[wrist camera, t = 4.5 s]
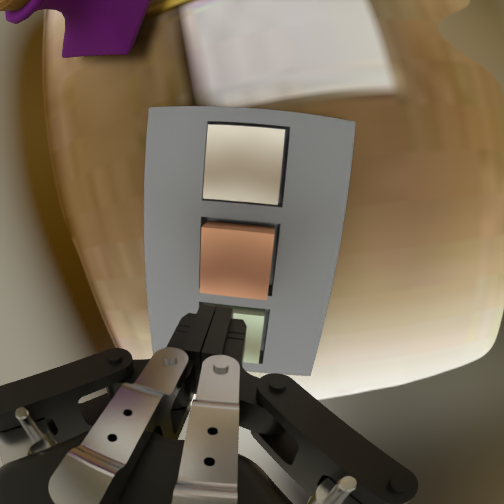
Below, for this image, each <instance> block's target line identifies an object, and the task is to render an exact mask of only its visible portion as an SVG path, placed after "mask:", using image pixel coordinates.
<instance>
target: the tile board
mask: <svg viewBox="0 0 504 504" xmlns="http://www.w3.org/2000/svg"><path fill="white" fill-rule="evenodd" d="M355 123H356V122H354V121H348V120H343V119H337V118H331V117H325V116H319V115H312V114H304V113H297V112H288V111H279V110H268V109H256V108H240V107H215V106H174V107H149V114H148V125H147V138H146V155H145V178H144V246H145V270H146V287H147V300H148V312H149V322H150V332H151V341H152V349H153V355H154V353H155V352H156V351H158V350H160V349H163V348H166V347H167V345H168V343H169V341H170V339H171V337H172V335H173V333H174V331H175V329H176V327H177V326H178V323H179V321H180V320H181V318H182V317H183V316H185V315H186V314H188V313H194V314H196V313H197V311H198V309H199V307H200V305H201V304H205V302H207V303H215V304H223V305H232V306H241V307H250V308H260V309H265V317H264V325H263V333H262V340H261V348H260V356H259V363H258V364H257V363H247V362H243V365H242V367H243V368H244V370H245V371H250V372H260V373H278V374H285V375H301V376H310V375H311V372H312V368H313V364H314V360H315V357H316V353H317V349H318V345H319V341H320V337H321V333H322V329H323V325H324V320H325V316H326V312H327V307H328V303H329V298H330V293H331V289H332V284H333V279H334V274H335V269H336V263H337V258H338V253H339V247H340V241H341V235H342V229H343V223H344V217H345V210H346V203H347V196H348V189H349V181H350V173H351V164H352V155H353V145H354V135H355ZM208 124H210V125H234V126H249V127H262V128H273V129H283V130H285V137H284V148H283V158H282V169H281V179H280V189H279V198H278V205H273V204H263V203H252V202H241V201H230V200H217V199H204V198H203V187H204V171H205V156H206V143H207V131H208ZM207 221H214V222H225V223H236V224H246V225H257V226H267V227H274V230H275V236H274V245H273V254H272V262H271V271H270V280H269V288H268V296H267V300H259V299H249V298H240V297H231V296H222V295H214V294H206V293H200V257H201V227H202V226H203V225H204V224H205V223H206V222H207Z"/></svg>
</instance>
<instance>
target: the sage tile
mask: <svg viewBox="0 0 504 504" xmlns="http://www.w3.org/2000/svg"><path fill="white" fill-rule="evenodd" d="M205 305H213V306H222V307H230V308H233V319H242V320H244V322H245V324H246V326H247V330H246V340H245V351H244V359H243V362H247V363H257V364H258V363H259V356H260V348H261V340H262V333H263V325H264V317H265V309H260V308H250V307H241V306H232V305H223V304H215V303H207V302H205Z"/></svg>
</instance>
